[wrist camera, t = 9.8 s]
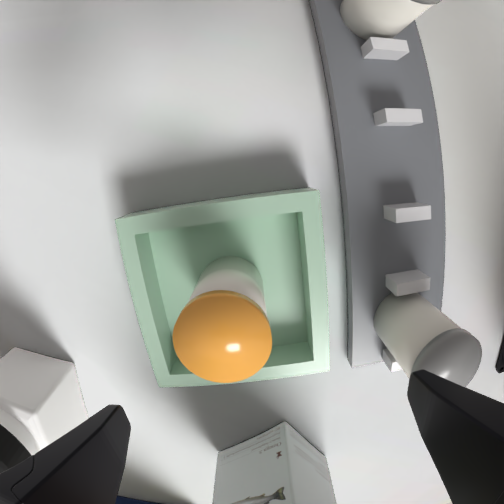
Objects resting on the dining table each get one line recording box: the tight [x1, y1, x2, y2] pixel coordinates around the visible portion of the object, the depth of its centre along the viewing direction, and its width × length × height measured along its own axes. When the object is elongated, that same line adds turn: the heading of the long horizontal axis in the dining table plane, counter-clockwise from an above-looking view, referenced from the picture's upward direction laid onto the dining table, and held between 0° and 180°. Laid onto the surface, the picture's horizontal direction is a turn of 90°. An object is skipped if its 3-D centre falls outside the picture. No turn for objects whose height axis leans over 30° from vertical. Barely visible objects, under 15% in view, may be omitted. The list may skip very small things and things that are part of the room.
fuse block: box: [309, 0, 482, 387], centre depth 15 cm, size 27×7×8 cm, turn 7°
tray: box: [115, 187, 330, 387], centre depth 19 cm, size 11×11×3 cm
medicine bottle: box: [0, 347, 89, 473], centre depth 17 cm, size 7×7×12 cm
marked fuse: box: [173, 256, 272, 383], centre depth 16 cm, size 4×4×7 cm
